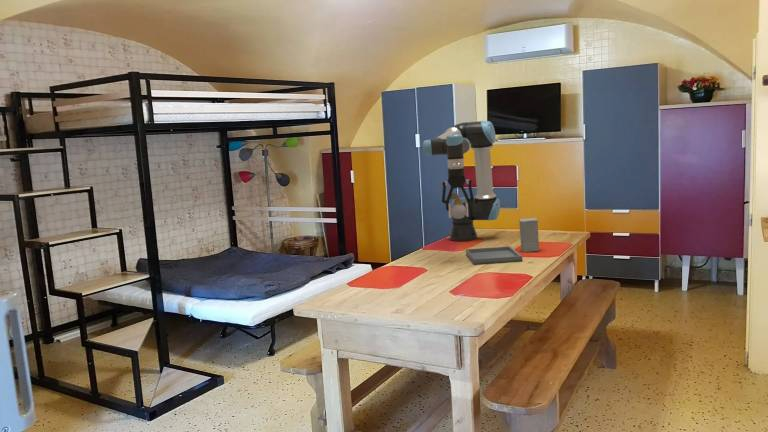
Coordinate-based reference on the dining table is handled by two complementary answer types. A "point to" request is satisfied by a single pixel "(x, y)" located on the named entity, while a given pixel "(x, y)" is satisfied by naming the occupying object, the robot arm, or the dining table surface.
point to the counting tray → (493, 255)
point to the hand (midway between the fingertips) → (458, 216)
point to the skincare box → (529, 234)
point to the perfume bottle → (457, 207)
